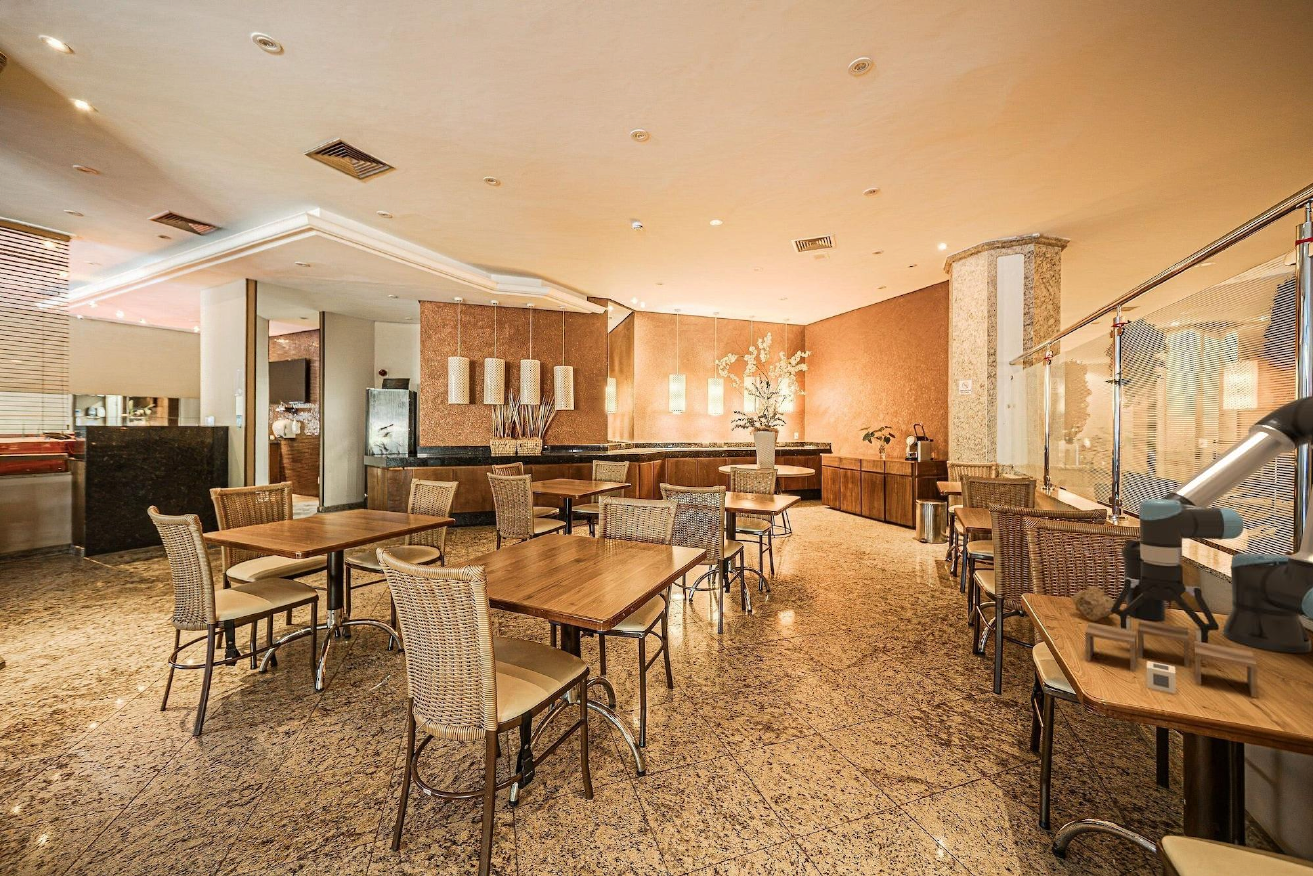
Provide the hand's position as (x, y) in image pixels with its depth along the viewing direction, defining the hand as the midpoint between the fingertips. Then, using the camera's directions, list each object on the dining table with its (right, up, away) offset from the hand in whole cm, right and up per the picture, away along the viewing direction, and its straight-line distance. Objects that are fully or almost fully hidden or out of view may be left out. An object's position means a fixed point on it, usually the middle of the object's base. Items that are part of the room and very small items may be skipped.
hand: (1162, 649), depth 132 cm
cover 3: (0, -2, -14) cm, 14 cm away
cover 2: (0, -2, 0) cm, 2 cm away
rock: (+7, -2, +27) cm, 28 cm away
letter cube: (-15, -2, -15) cm, 21 cm away
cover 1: (-14, -2, -1) cm, 14 cm away
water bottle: (+22, -2, +28) cm, 36 cm away
